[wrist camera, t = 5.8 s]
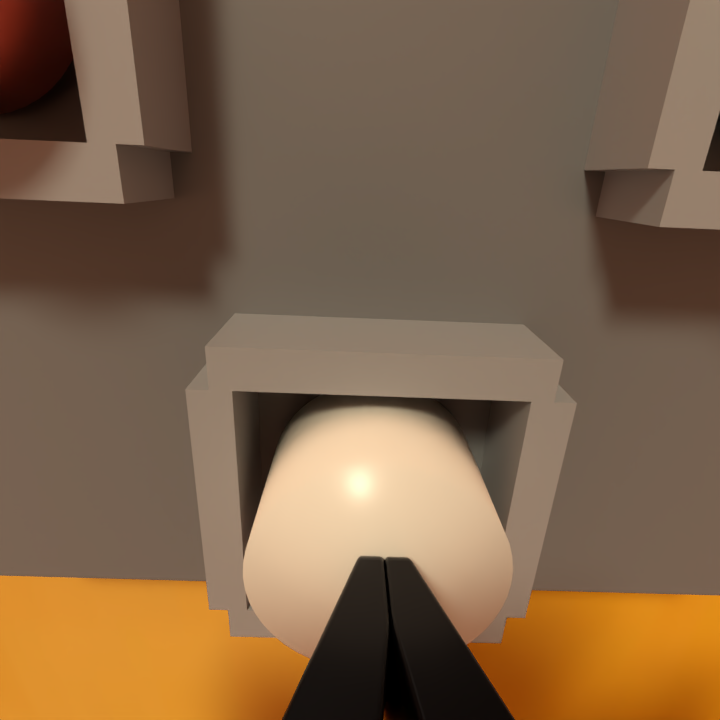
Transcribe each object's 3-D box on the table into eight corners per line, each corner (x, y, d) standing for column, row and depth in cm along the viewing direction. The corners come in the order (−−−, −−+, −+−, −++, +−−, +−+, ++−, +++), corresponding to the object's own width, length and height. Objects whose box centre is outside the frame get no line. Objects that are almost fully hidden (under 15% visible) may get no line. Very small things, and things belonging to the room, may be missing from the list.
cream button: (483, 385, 10) (535, 471, 7) (458, 549, 11) (491, 673, 8) (271, 377, 9) (234, 461, 7) (276, 544, 11) (249, 667, 8)
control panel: (938, -177, 9) (1563, -559, 4) (678, 519, 15) (819, 669, 11) (-159, -244, 9) (-776, -746, 4) (38, 499, 15) (-107, 646, 10)
